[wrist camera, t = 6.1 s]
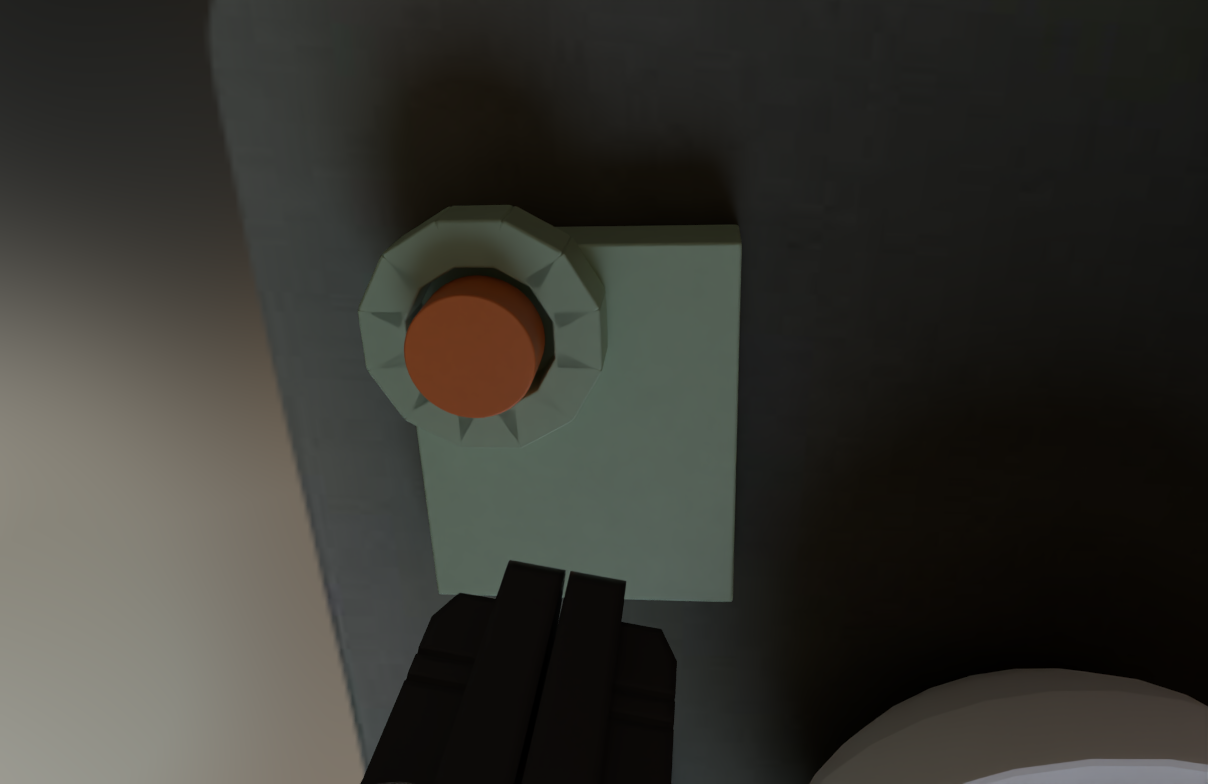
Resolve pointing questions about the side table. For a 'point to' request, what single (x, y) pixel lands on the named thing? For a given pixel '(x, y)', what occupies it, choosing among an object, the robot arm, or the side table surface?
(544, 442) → the green board with knob
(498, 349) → the button
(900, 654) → the side table surface
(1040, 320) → the side table surface
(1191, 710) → the bowl
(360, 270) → the side table surface
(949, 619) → the side table surface
